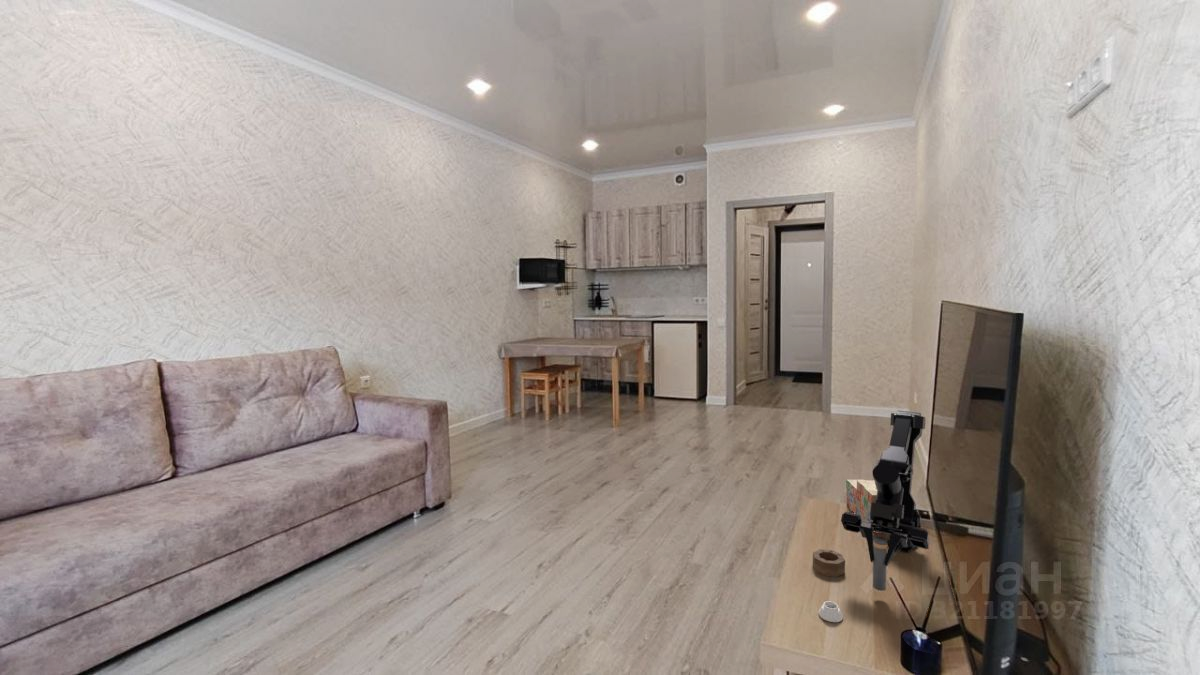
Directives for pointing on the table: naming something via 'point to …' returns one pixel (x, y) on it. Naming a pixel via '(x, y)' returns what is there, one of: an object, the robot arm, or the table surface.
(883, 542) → the grey knob-topped cylinder
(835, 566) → the bead
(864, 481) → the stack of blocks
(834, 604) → the white jar
